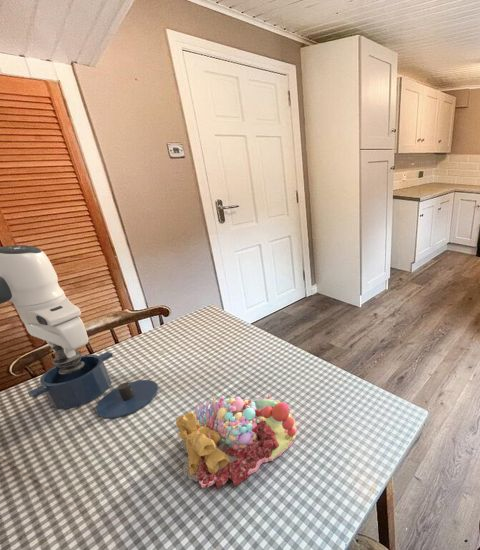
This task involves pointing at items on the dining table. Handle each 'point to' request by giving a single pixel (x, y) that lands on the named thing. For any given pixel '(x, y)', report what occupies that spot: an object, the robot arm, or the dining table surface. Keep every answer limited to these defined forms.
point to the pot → (75, 383)
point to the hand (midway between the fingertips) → (65, 354)
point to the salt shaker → (67, 361)
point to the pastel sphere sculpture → (234, 438)
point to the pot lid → (127, 399)
